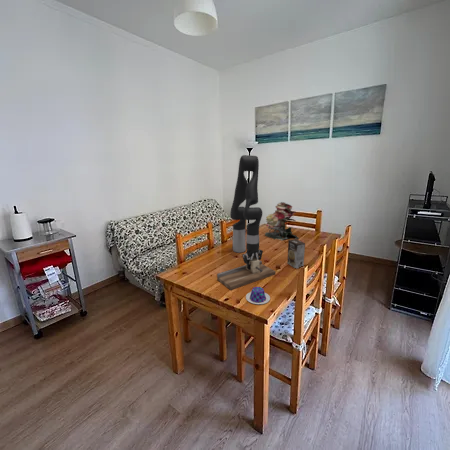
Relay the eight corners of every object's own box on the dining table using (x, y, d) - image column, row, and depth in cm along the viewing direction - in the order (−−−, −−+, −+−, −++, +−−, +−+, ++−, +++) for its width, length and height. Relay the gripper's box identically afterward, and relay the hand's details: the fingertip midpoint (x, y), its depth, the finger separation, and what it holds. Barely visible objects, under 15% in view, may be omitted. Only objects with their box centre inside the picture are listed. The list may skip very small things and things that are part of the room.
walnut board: (217, 279, 143) (217, 273, 142) (260, 265, 159) (260, 260, 158) (230, 290, 131) (230, 283, 130) (275, 274, 148) (275, 268, 147)
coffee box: (286, 263, 162) (287, 240, 158) (295, 261, 164) (296, 238, 160) (295, 268, 154) (296, 244, 149) (303, 267, 156) (305, 242, 152)
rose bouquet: (282, 229, 235) (283, 198, 227) (302, 238, 208) (304, 203, 200) (258, 233, 226) (259, 200, 218) (276, 243, 200) (277, 206, 192)
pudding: (254, 308, 116) (254, 298, 114) (241, 296, 126) (241, 287, 125) (275, 301, 121) (275, 291, 120) (260, 290, 131) (260, 281, 130)
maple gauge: (246, 268, 151) (246, 258, 149) (252, 267, 153) (252, 256, 151) (258, 276, 141) (258, 265, 139) (264, 274, 143) (265, 263, 141)
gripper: (258, 237, 151) (258, 263, 155) (239, 241, 143) (239, 268, 148) (266, 240, 144) (265, 267, 149) (246, 245, 137) (246, 273, 142)
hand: (252, 267), depth 149 cm, fingers closed on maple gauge, 4 cm apart
